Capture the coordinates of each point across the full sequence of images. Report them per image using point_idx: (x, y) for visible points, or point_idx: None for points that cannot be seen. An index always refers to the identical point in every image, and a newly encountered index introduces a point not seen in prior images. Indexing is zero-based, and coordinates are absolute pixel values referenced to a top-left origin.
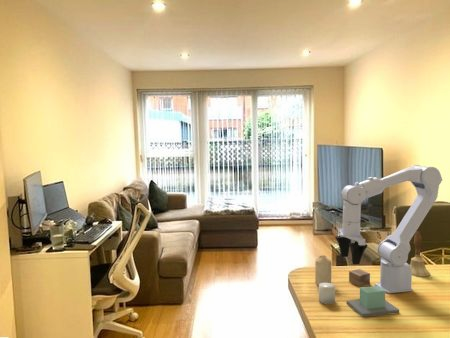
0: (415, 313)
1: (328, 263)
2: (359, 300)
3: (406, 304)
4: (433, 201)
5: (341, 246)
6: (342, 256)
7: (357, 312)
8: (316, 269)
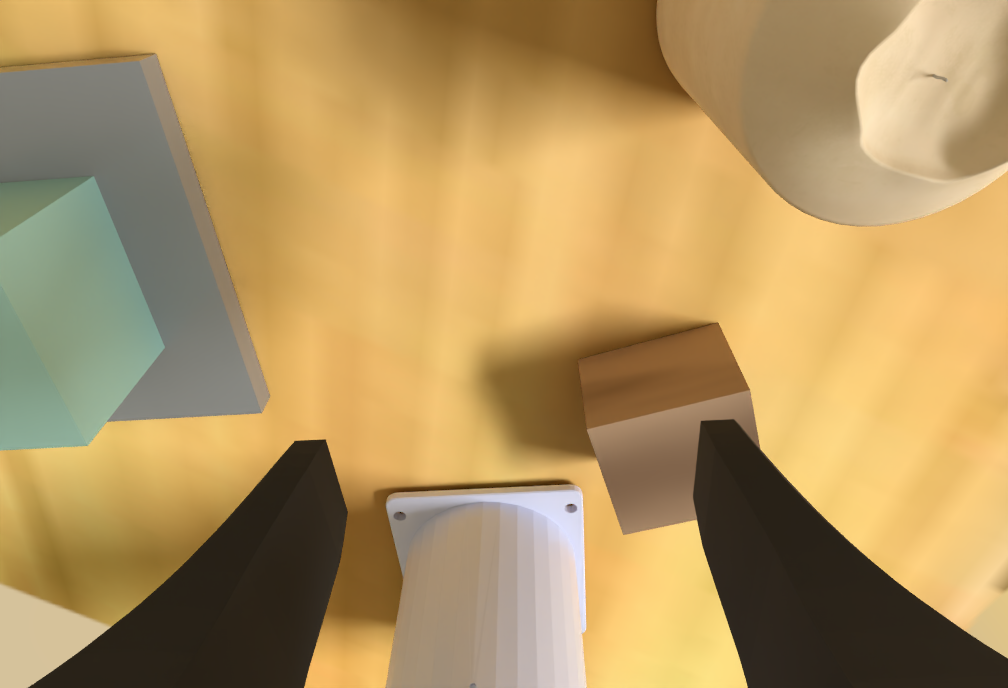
0: (58, 493)
1: (738, 119)
2: (164, 203)
3: (203, 510)
4: None
5: (779, 584)
6: (700, 431)
7: None
8: None
